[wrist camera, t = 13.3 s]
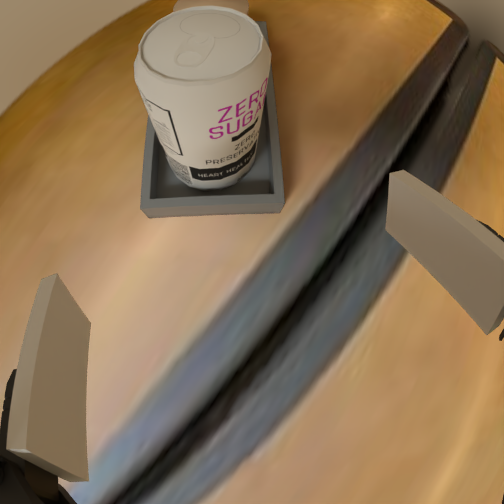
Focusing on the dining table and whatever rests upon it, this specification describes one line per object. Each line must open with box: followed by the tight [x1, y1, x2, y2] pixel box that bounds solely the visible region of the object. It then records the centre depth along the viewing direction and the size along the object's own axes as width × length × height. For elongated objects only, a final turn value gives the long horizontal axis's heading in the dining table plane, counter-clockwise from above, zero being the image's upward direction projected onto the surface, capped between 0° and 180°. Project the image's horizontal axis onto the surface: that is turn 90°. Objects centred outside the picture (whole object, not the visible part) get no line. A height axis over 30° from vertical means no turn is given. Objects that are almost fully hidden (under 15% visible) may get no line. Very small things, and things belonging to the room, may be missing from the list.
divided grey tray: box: [140, 21, 285, 218], centre depth 29 cm, size 12×23×3 cm, turn 2°
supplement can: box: [134, 6, 272, 191], centre depth 22 cm, size 8×8×15 cm
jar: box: [173, 0, 249, 16], centre depth 26 cm, size 7×7×9 cm
